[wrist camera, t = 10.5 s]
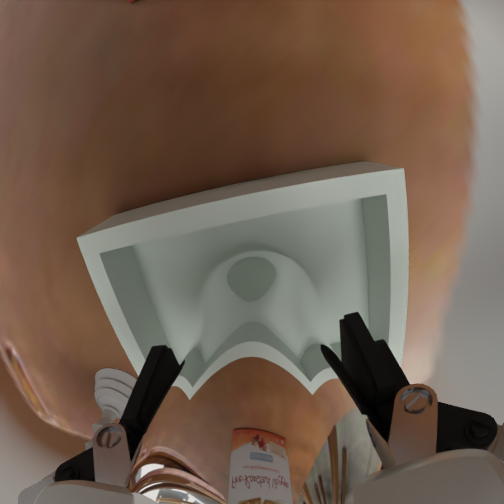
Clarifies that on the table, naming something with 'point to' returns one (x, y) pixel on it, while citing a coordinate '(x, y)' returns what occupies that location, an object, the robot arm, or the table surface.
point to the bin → (258, 239)
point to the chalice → (110, 397)
